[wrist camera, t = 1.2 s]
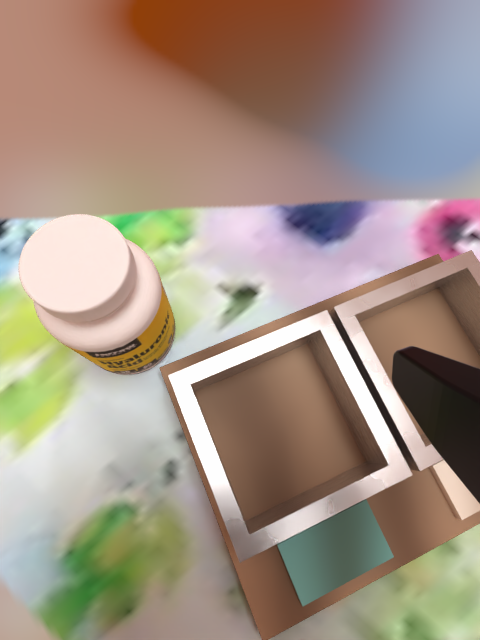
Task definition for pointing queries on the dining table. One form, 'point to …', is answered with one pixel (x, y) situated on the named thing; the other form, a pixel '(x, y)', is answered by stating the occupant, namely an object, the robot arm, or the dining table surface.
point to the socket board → (326, 461)
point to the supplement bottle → (98, 293)
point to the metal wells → (350, 394)
